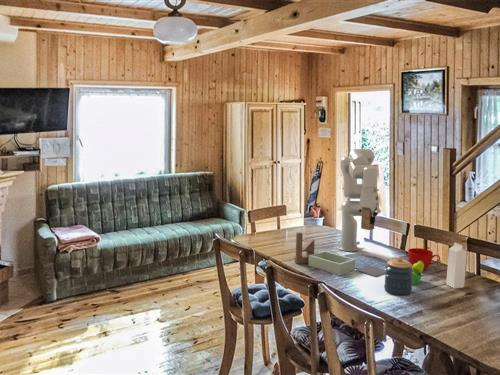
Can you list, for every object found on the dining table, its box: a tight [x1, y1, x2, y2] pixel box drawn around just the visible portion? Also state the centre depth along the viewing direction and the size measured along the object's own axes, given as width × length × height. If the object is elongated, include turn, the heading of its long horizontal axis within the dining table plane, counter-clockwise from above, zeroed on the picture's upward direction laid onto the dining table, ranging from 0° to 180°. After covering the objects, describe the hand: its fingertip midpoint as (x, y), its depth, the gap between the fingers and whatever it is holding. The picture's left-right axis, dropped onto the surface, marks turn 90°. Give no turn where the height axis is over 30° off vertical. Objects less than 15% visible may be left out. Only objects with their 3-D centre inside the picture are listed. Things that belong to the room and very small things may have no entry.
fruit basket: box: [411, 261, 424, 285], centre depth 237 cm, size 11×9×11 cm
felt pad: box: [355, 264, 386, 278], centre depth 253 cm, size 13×13×1 cm
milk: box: [445, 242, 468, 289], centre depth 230 cm, size 6×6×22 cm
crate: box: [307, 250, 356, 276], centre depth 258 cm, size 14×22×6 cm, turn 42°
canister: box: [383, 255, 413, 297], centre depth 222 cm, size 13×13×18 cm
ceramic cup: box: [407, 247, 441, 271], centre depth 257 cm, size 13×17×10 cm
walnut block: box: [360, 207, 375, 231], centre depth 249 cm, size 5×5×12 cm
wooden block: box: [294, 231, 315, 265], centre depth 266 cm, size 4×11×18 cm, turn 104°
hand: (368, 222), depth 250 cm, fingers closed on walnut block, 5 cm apart
